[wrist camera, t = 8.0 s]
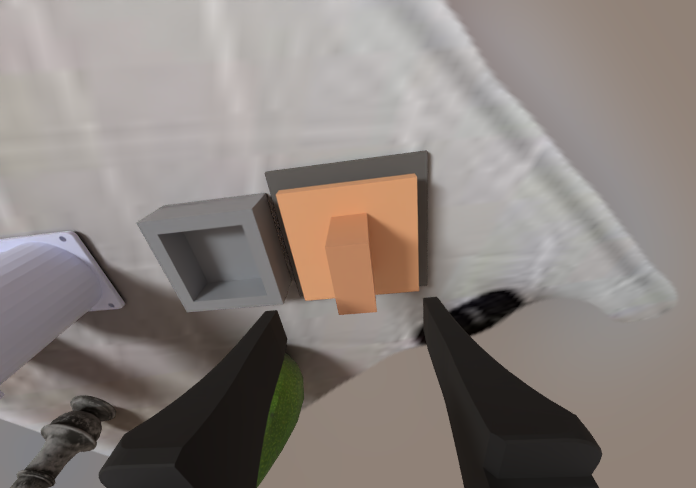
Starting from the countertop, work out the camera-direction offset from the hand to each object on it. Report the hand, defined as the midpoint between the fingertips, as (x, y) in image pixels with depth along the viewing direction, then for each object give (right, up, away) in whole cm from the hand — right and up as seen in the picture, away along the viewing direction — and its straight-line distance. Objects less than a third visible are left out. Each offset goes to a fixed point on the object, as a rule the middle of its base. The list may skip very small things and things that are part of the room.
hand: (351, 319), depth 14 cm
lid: (0, +4, +7) cm, 8 cm away
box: (-10, +4, +9) cm, 14 cm away
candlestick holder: (-32, -17, +22) cm, 43 cm away
